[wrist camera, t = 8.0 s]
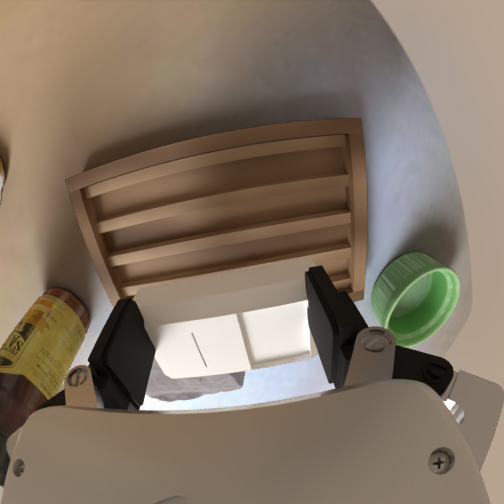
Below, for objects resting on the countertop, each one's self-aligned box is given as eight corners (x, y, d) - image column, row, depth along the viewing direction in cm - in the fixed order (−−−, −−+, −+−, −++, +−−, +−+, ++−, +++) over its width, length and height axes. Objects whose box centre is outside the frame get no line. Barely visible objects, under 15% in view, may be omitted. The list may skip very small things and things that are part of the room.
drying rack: (81, 172, 17) (65, 179, 15) (346, 118, 17) (361, 117, 15) (136, 320, 23) (129, 338, 21) (352, 283, 23) (363, 299, 21)
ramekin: (377, 334, 27) (394, 362, 23) (353, 279, 23) (373, 308, 19) (440, 291, 25) (461, 313, 21) (428, 228, 21) (457, 248, 17)
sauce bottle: (59, 273, 20) (-52, 446, 3) (103, 319, 23) (32, 506, 5) (35, 302, 22) (-50, 445, 4) (74, 341, 24) (13, 492, 6)
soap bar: (138, 288, 13) (123, 319, 11) (310, 256, 13) (326, 284, 11) (169, 353, 15) (162, 385, 13) (314, 329, 15) (326, 361, 13)
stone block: (251, 354, 29) (214, 300, 23) (256, 393, 25) (215, 348, 19) (161, 372, 30) (109, 328, 24) (158, 407, 26) (99, 368, 20)
